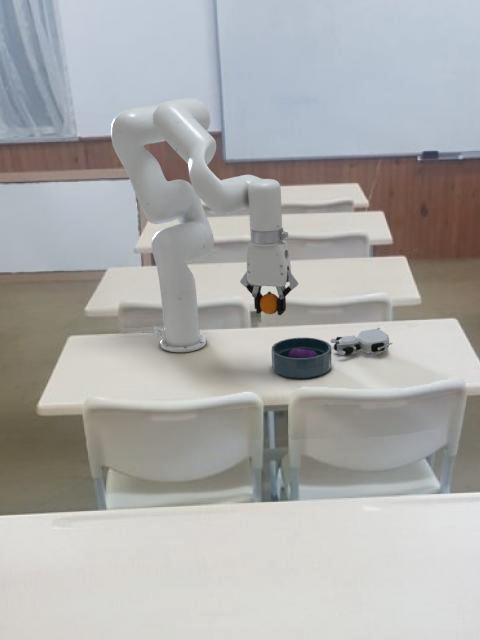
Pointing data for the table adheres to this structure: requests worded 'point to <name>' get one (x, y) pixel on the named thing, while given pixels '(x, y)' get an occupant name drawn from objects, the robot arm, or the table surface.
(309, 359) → the bowl
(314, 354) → the aubergine toy
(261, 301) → the orange toy
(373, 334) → the robot toy
